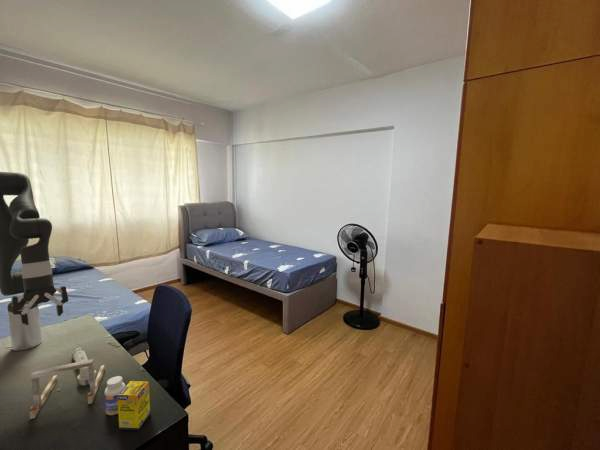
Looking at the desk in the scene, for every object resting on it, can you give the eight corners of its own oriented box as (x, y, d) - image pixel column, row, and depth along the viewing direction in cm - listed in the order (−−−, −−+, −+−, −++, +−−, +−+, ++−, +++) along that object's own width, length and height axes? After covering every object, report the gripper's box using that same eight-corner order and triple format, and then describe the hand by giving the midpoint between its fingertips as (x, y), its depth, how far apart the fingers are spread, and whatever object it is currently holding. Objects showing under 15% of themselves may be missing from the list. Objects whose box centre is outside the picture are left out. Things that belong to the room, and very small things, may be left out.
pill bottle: (104, 418, 81) (102, 388, 79) (107, 405, 85) (105, 377, 84) (125, 411, 83) (123, 382, 82) (127, 400, 88) (125, 372, 87)
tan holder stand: (53, 381, 96) (50, 349, 95) (105, 369, 103) (103, 339, 101) (29, 419, 80) (24, 381, 78) (93, 402, 86) (90, 367, 85)
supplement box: (139, 430, 77) (137, 395, 75) (118, 430, 77) (116, 395, 75) (151, 413, 82) (149, 380, 81) (131, 413, 83) (129, 380, 81)
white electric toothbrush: (85, 344, 113) (96, 362, 96) (86, 360, 113) (98, 380, 96) (68, 349, 109) (77, 369, 92) (70, 365, 109) (79, 388, 92)
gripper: (61, 270, 102) (66, 311, 103) (6, 279, 91) (12, 326, 91) (66, 270, 98) (72, 314, 98) (9, 280, 87) (16, 329, 87)
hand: (43, 319), depth 95 cm, fingers open, 8 cm apart
